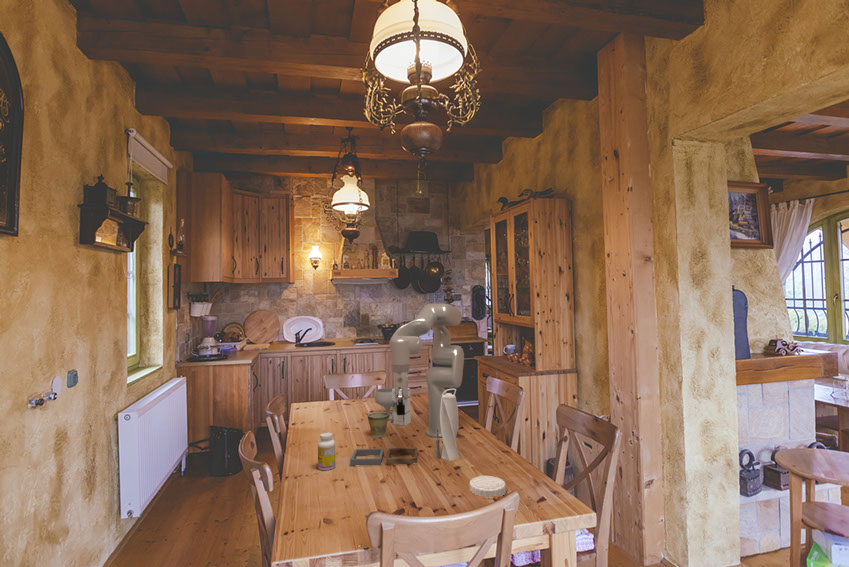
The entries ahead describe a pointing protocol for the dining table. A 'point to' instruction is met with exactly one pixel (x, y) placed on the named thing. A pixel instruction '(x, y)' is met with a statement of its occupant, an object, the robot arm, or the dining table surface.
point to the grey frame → (367, 460)
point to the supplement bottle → (326, 452)
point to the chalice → (384, 399)
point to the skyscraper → (448, 427)
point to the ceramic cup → (378, 423)
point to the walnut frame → (401, 452)
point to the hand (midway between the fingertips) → (401, 411)
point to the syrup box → (405, 419)
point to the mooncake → (487, 486)
